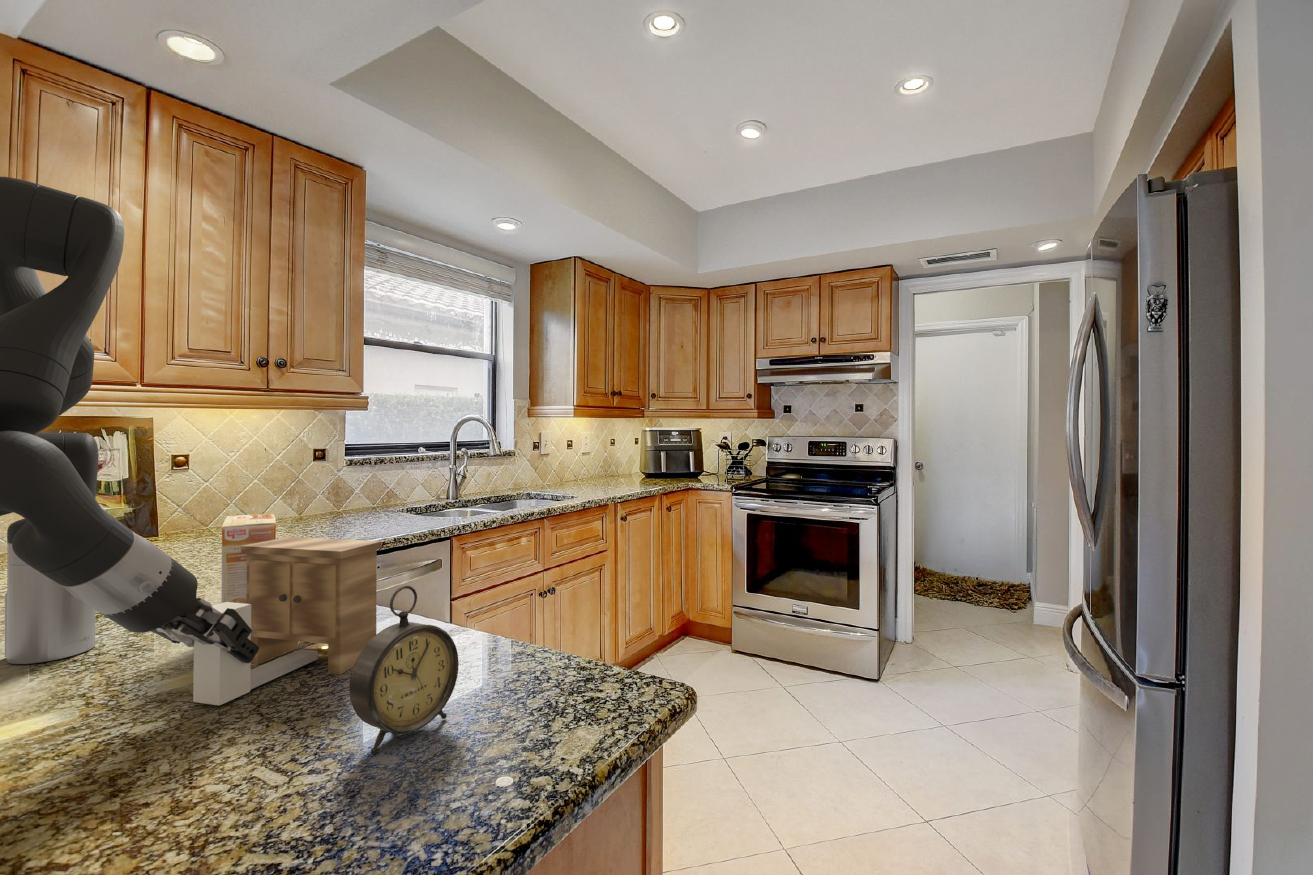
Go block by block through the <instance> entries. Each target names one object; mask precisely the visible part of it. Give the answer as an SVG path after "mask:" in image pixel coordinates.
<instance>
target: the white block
mask: <svg viewBox="0 0 1313 875" xmlns="http://www.w3.org/2000/svg"><path fill="white" fill-rule="evenodd" d="M212 607H213V608H214V609H216V610H218V611H219V612H221V613H224V612H225V610H226V609H227V608H230V609H234V610H235V611H236V612H237V613H238V614H239V615H240V616H241V617H242V619H243V620H244V621H245V622H246V624H247V625H248V626H249V627H250V628H251V604H244V603H233V602H224V603H221V602H220V603H218V604H214V605H212ZM213 626H214V625H212V627H211V628H210V629H209V631H208V632H207V633H205V634H204V636H207V634H208V633H209V632H210V630H211V629H212V628H213ZM219 639H220V640H222V639H221V638H220V637H219ZM248 639H249V640H251V633H250V635H249V636H248ZM222 641H223V640H222ZM317 659H318V651H314V650H305V648H304V649H303V648H299V649H297V650H296V651H295V650H294V651H293V652H292V651H291V653H288V654H286V655H285V654H284V655H283V656H279V657H278V658H275V659H274V660H273V659H272V660H271V661H267V663H264V664H260V665H258V666H257V667H253V668H251V665H252V664H251V662H250V663H243V662H241V661H240V660H238V659H237V658H235V657H234V656H232V655H231V654H229V653H228V652H226V651H223V650H222V649H221V648H219V647H217V646H215V645H214V644H211V645H203V644H201V643H199V642H197V641H196V640H194V647H193V686H192V688H193V699H192V700H193V703H200V704H207V705H214V706H221V705H223V704H226V703H228V702H231V701H233V700H234V699H236V698H239V697H241V696H244V695H246V694H248V693H250V692H251V690H253V689H255V688H257V687H259V686H261V685H263V684H266V683H268V682H270V681H272V680H275V679H277V678H279V677H281V676H284V675H286V674H288V673H291V672H292V671H294V670H297V669H299V668H301V667H304V666H306V665H308V664H311V663H313V661H315V660H317Z"/></svg>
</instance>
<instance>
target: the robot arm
mask: <svg viewBox="0 0 1313 875" xmlns="http://www.w3.org/2000/svg"><path fill="white" fill-rule="evenodd" d="M124 242H125V225H124V220H123V218H122V216H121V214H120V212H118V211H117V210H116V209H115V208H114V207H112V206H109V204H108V205H107V204H104V203H102V202H100V201H98V200H93V199H91V198H88V197H84V196H80V195H77V194H74V193H70V192H65V191H62V190H59V189H55V188H52V187H49V186H45V185H43V184H42V185H41V184H39V183H36V182H33V181H28V180H26V179H25V180H23V179H20V178H15V177H9V176H0V517H1V516H5V515H10V514H13V513H14V514H16V515H19V516H21V519H18V520H15V521H13V522H12V523H11V524H9V525H8V528H7V533H6V542H7V543H6V544H7V546H6V547H7V549H6V550H7V552H6V556H7V557H6V567H7V568H6V571H7V572H6V575H7V576H6V578H7V579H6V582H7V583H6V585H7V586H6V588H7V589H6V593H5V595H4V658H6V663H9V664H13V665H29V664H30V665H31V664H38V663H44V662H50V661H55V660H60V659H65V658H68V657H72V656H76V655H79V654H82V653H84V652H87V651H90V650H92V649H93V648H95V646H96V618H97V617H96V616H97V615H96V612H98V613H99V614H100V615H102V616H104V617H106V618H107V619H109V620H111V621H112V622H113V623H115V624H117V625H119V626H120V627H122V628H123V629H125V630H127V631H128V632H130V633H134V634H135V633H136V634H143V633H149V632H152V633H154V634H156V635H158V636H159V637H160V636H161V637H162V638H163V639H166V640H167V641H170V643H172V644H181V643H183V644H184V645H185V646H186V647H189V648H194V640H196V641H197V642H199V643H201V644H203V645H211V644H214V645H215V646H217V647H219V648H221V649H222V650H223V651H226V652H228V653H229V654H231V655H232V656H234V657H235V658H237V659H238V660H240V661H241V662H243V663H250V662H251V661H252V660H253V658H254V657H255V655H256V654H257V652H258V650H259V646H257V645H256V644H255V643H253V642H252V641H251V640H249V639H248V636H249V635H250V633H251V632H252V630H251V628H250V627H249V626H248V625H247V624H246V622H245V621H244V620H243V619H242V617H241V616H240V615H239V614H238V613H237V612H236V611H235V610H234V609H230V608H227V609H226V610H225V612H224V613H221V612H219V611H218V610H216V609H214V608H213V607H212V606H213V605H212V603H211V602H210V601H209V602H208V600H206V599H203V598H200V597H197V592H198V585H199V584H198V580H197V577H196V576H195V575H194V574H193V573H192V572H191V571H189V570H188V569H187V568H185V567H184V566H183V565H181V564H180V563H179V562H178V561H177V560H175V559H174V558H172V557H171V556H170V555H168V554H167V553H166V552H164V551H163V550H162V549H161V548H159V546H158V545H155V544H154V543H153V542H152V541H150V540H148V539H146V538H145V537H143V536H141V535H139V534H137V533H135V531H133V530H131V529H130V528H129V527H127V525H125V524H124V523H122V522H121V521H120V520H118V519H117V518H115V517H114V516H113V515H112V514H110V513H109V512H108V511H106V510H105V509H103V508H102V506H101V505H100V504H99V502H98V501H97V499H96V497H97V496H96V495H97V482H98V472H99V471H98V470H99V457H100V456H99V447H98V442H97V441H96V439H95V438H94V436H93V435H91V434H89V433H85V432H42V431H43V430H46V429H47V428H48V427H50V426H51V425H53V424H54V423H55V422H56V420H57V419H58V417H60V416H61V415H63V414H64V413H66V412H67V411H69V410H70V409H72V407H74V406H76V405H77V404H79V403H80V402H81V401H82V400H83V399H84V398H85V397H86V396H87V395H88V393H89V392H90V389H91V388H92V384H93V378H94V367H95V366H94V364H95V349H94V346H93V343H92V341H91V339H90V338H89V336H88V335H87V333H88V332H89V330H90V328H91V325H92V324H93V322H94V320H95V319H96V316H97V315H98V313H99V310H100V309H101V306H102V305H103V303H104V300H105V298H106V295H107V294H108V291H109V289H110V288H111V285H112V283H113V281H114V278H115V276H116V274H117V272H118V269H119V267H120V266H119V265H120V263H121V260H122V255H123V250H124ZM36 271H40V272H44V273H47V274H48V273H49V274H52V275H59V276H63V277H67V278H66V279H65V280H63V281H62V282H61V283H60V284H59V285H58V286H56V287H54V288H52V289H51V290H49V291H47V290H46V288H45V286H44V285H43V284H42V282H41V281H40V279H39V276H38V273H37V272H36ZM212 625H214V626H213V628H212V629H211V630H210V632H209V633H208V634H207V636H204V634H205V633H207V632H208V631H209V629H210V628H211V627H212ZM219 637H220V638H221V639H222V640H223V641H222V640H220V639H219Z"/></svg>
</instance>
